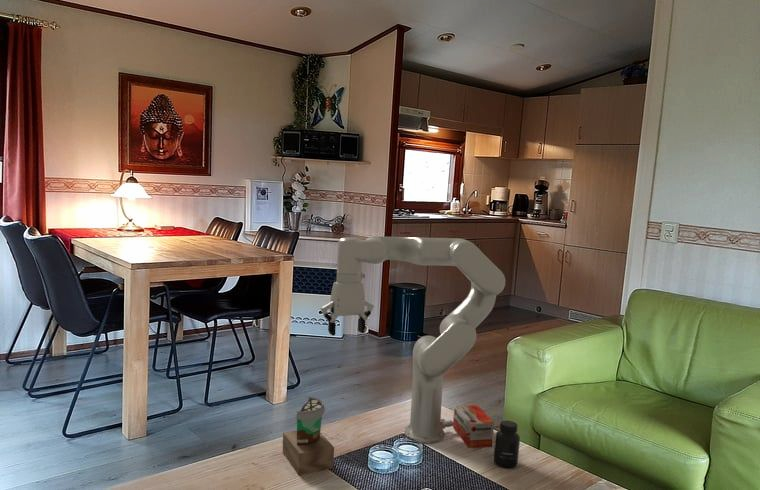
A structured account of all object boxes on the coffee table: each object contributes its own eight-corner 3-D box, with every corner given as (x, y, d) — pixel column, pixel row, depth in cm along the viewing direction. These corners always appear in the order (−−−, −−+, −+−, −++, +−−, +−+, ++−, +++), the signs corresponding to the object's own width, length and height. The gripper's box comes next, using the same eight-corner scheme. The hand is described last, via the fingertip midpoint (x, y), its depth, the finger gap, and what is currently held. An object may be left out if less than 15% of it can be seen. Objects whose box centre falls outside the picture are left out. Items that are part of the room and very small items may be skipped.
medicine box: (452, 428, 187) (453, 404, 187) (475, 427, 189) (477, 403, 188) (468, 449, 173) (470, 423, 172) (493, 447, 174) (495, 422, 174)
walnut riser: (315, 446, 169) (315, 427, 168) (333, 468, 157) (334, 447, 156) (282, 452, 164) (283, 432, 164) (298, 475, 152) (299, 453, 151)
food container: (317, 450, 154) (318, 414, 153) (295, 447, 155) (296, 411, 154) (328, 431, 166) (329, 398, 165) (308, 428, 167) (309, 395, 166)
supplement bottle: (504, 471, 160) (507, 430, 158) (488, 460, 166) (491, 420, 164) (522, 466, 163) (526, 426, 162) (507, 456, 169) (510, 417, 168)
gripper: (369, 275, 181) (366, 328, 183) (317, 277, 173) (315, 332, 175) (379, 279, 174) (377, 334, 176) (327, 281, 166) (325, 338, 168)
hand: (346, 333), depth 175 cm, fingers open, 9 cm apart
